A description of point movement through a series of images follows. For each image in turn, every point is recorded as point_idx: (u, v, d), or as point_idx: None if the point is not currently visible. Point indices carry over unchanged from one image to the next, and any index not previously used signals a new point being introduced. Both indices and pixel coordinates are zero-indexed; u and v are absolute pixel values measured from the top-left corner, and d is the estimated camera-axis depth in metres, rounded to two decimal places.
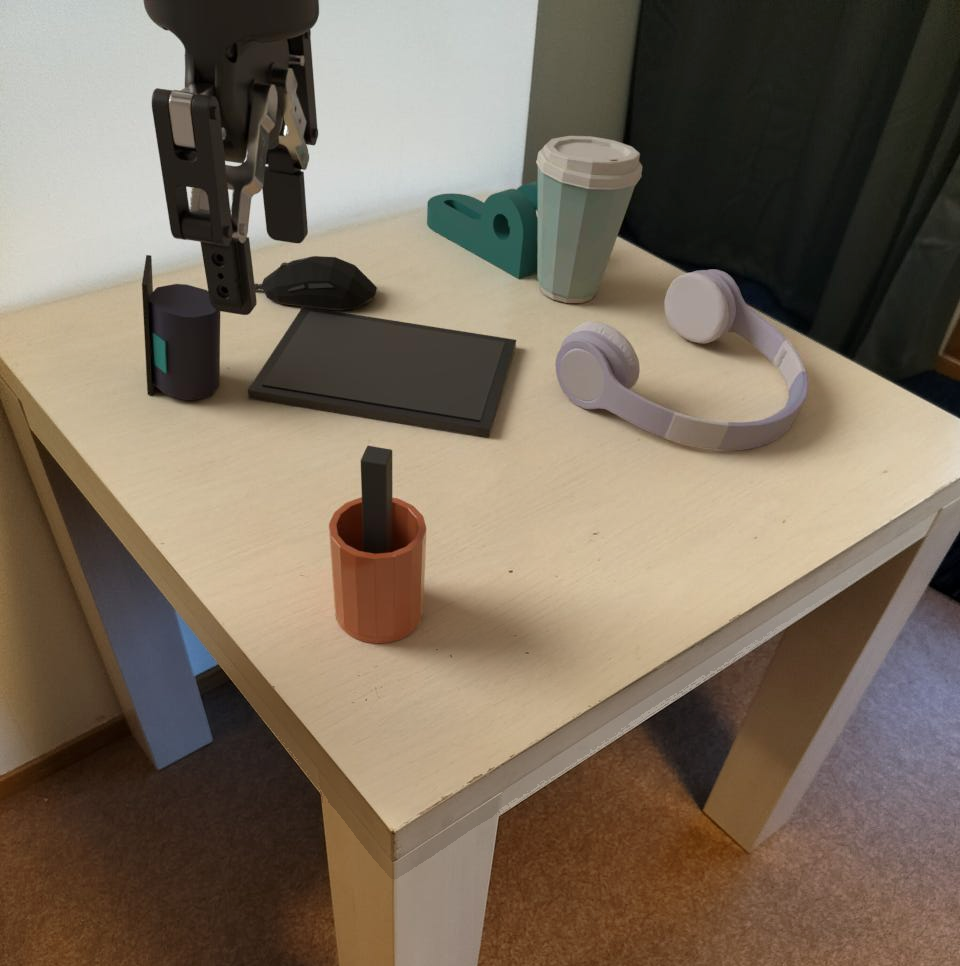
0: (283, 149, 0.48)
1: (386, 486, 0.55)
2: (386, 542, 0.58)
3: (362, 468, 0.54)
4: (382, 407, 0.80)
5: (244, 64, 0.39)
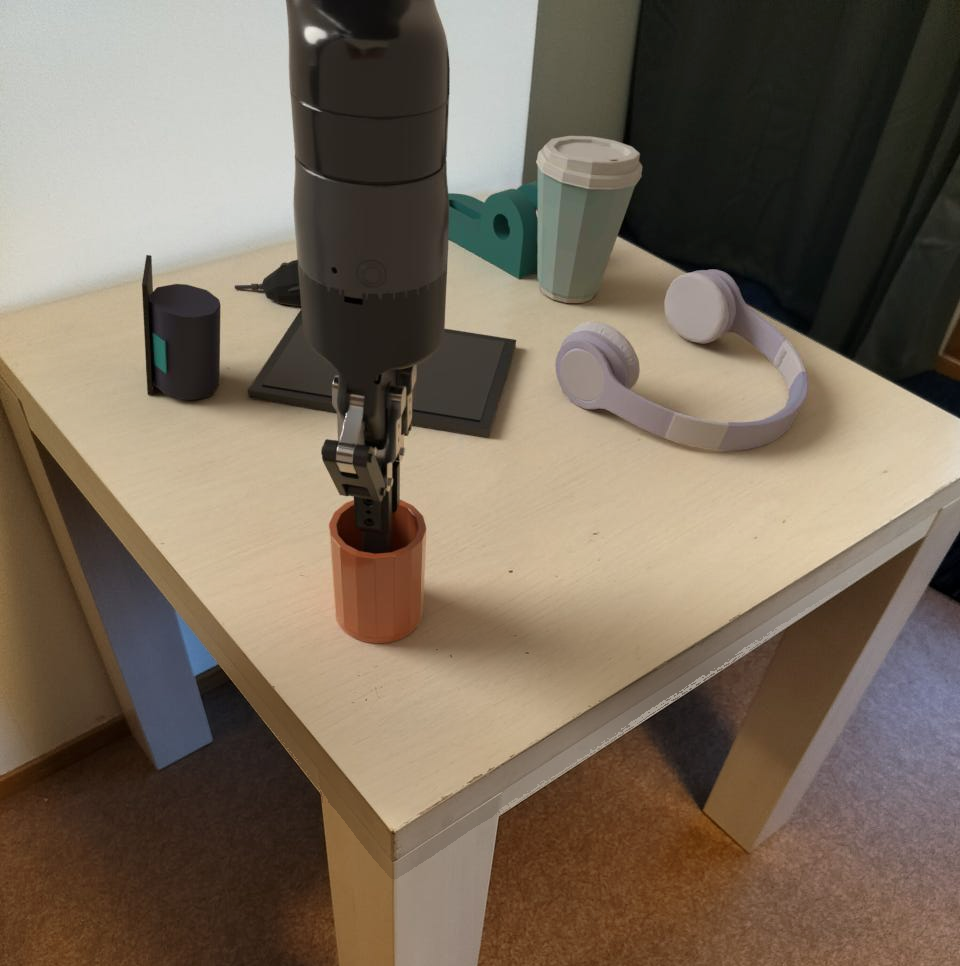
0: None
1: None
2: (386, 542, 0.58)
3: None
4: None
5: (384, 378, 0.47)
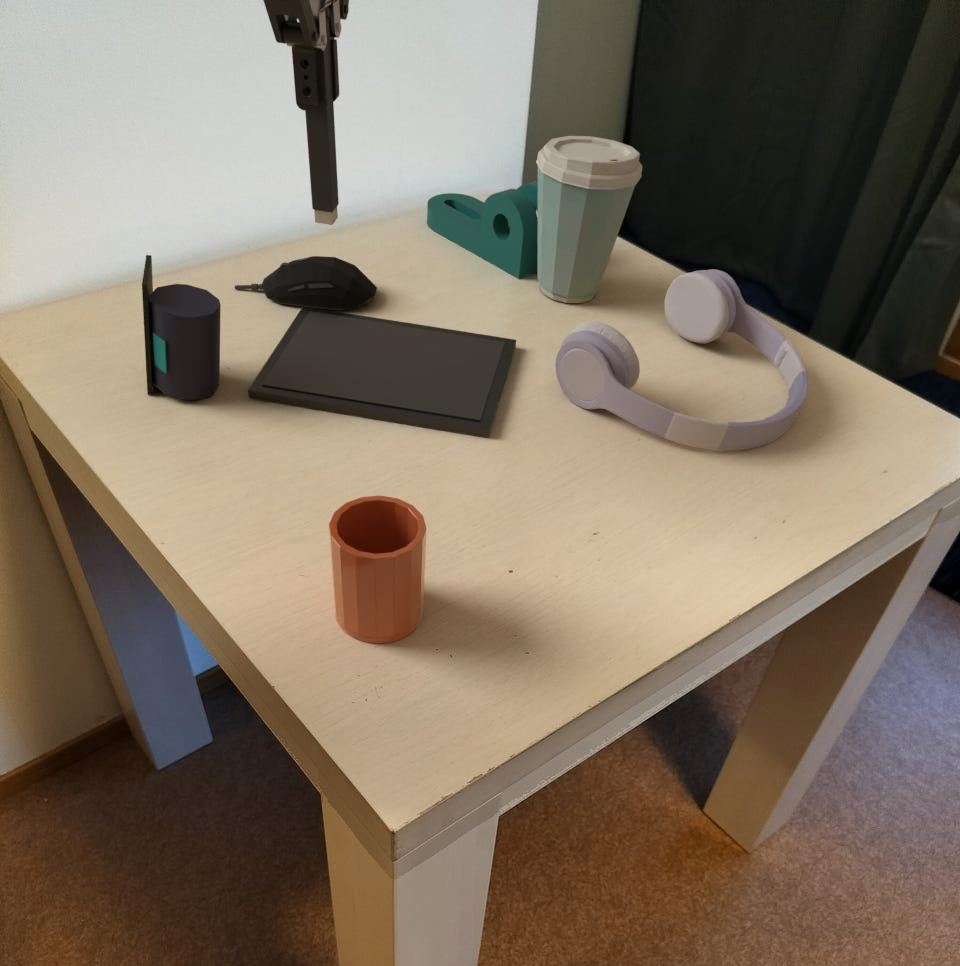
0: None
1: None
2: (327, 128, 0.63)
3: None
4: (382, 407, 0.80)
5: None
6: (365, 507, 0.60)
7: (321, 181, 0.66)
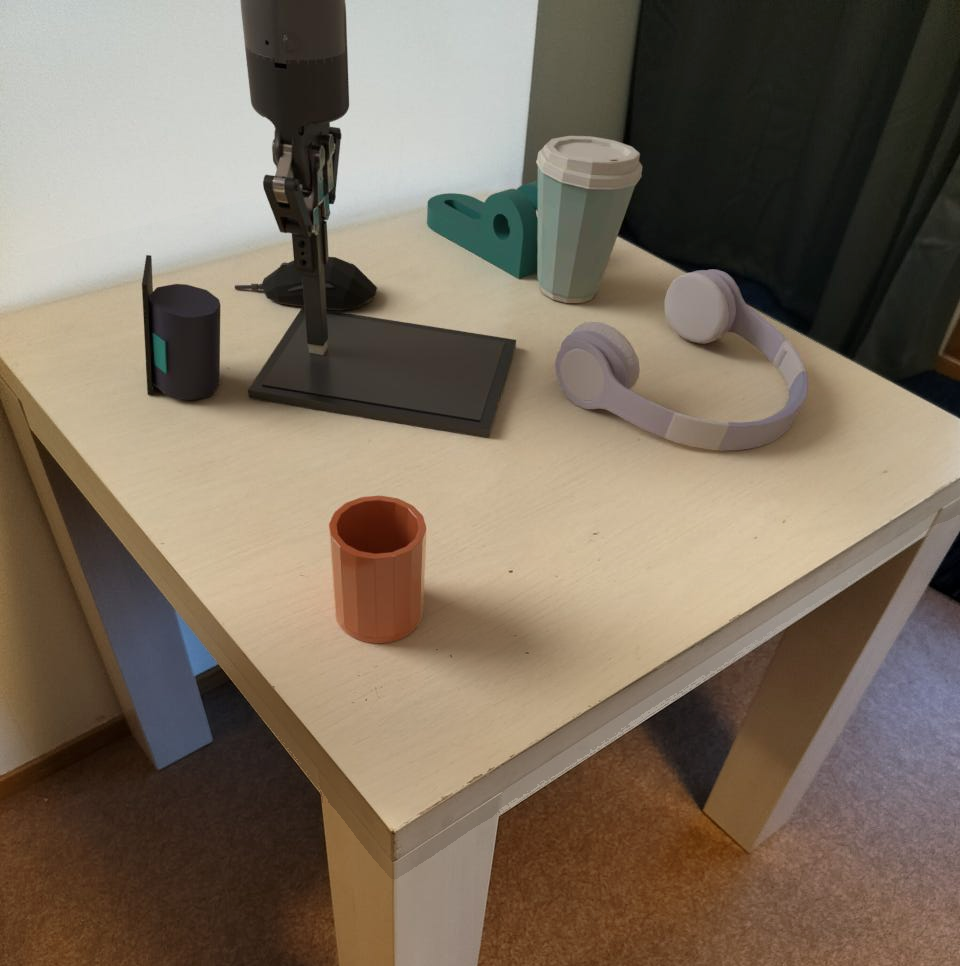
0: None
1: None
2: (319, 286, 0.79)
3: None
4: (382, 407, 0.80)
5: (307, 135, 0.69)
6: (365, 507, 0.60)
7: (314, 323, 0.82)
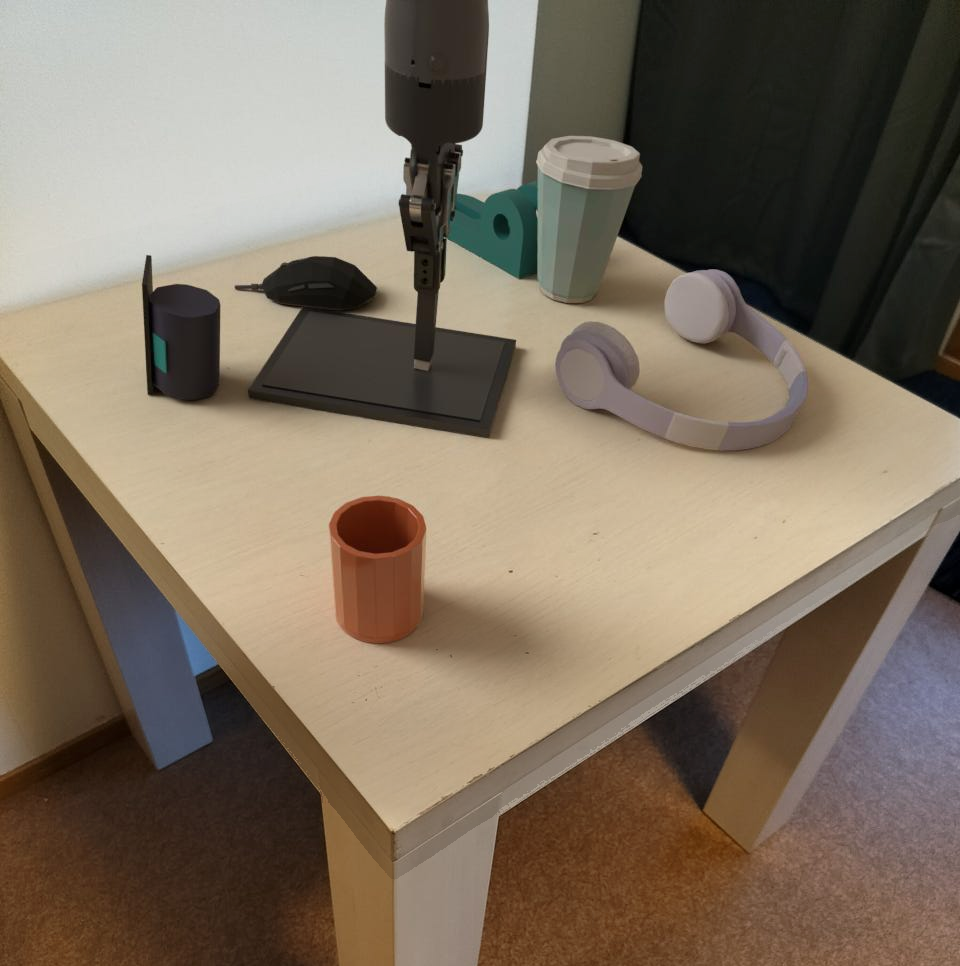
0: None
1: None
2: (434, 303, 0.79)
3: None
4: (382, 407, 0.80)
5: (441, 154, 0.68)
6: (365, 507, 0.60)
7: (424, 340, 0.81)
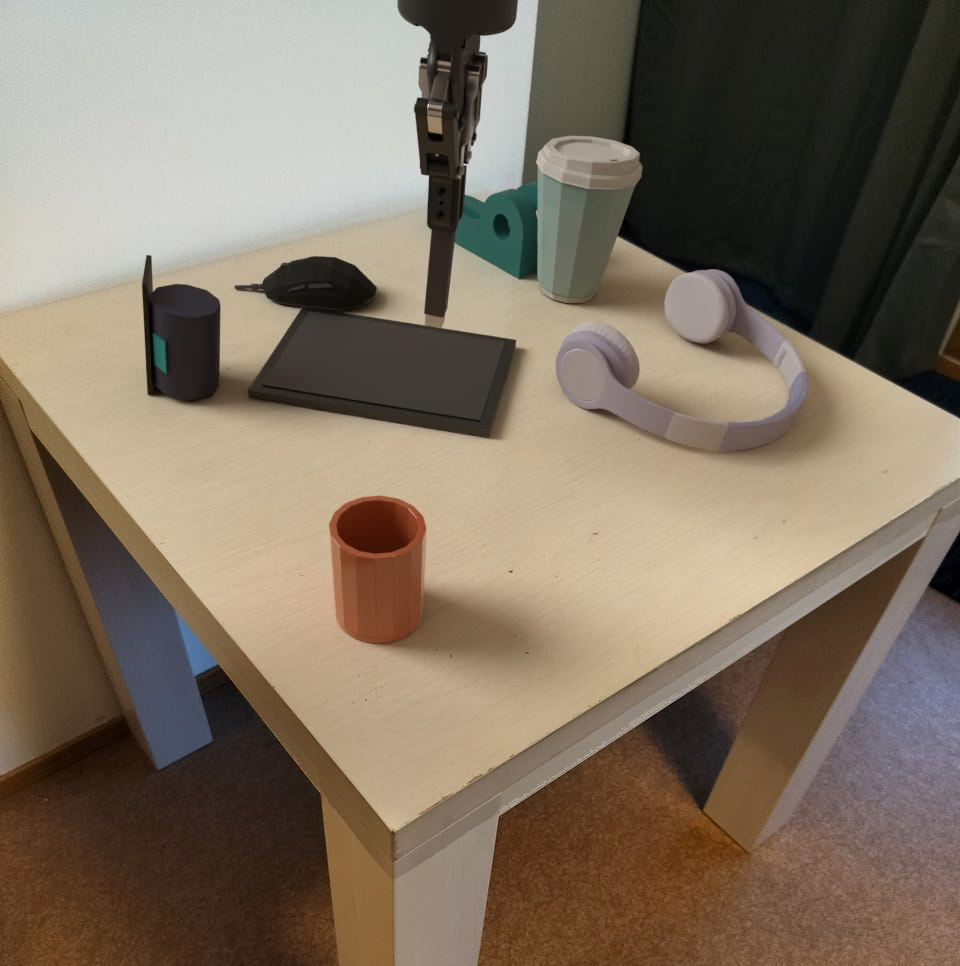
0: None
1: None
2: (451, 245, 0.66)
3: None
4: (382, 407, 0.80)
5: (466, 50, 0.56)
6: (365, 507, 0.60)
7: (437, 290, 0.69)
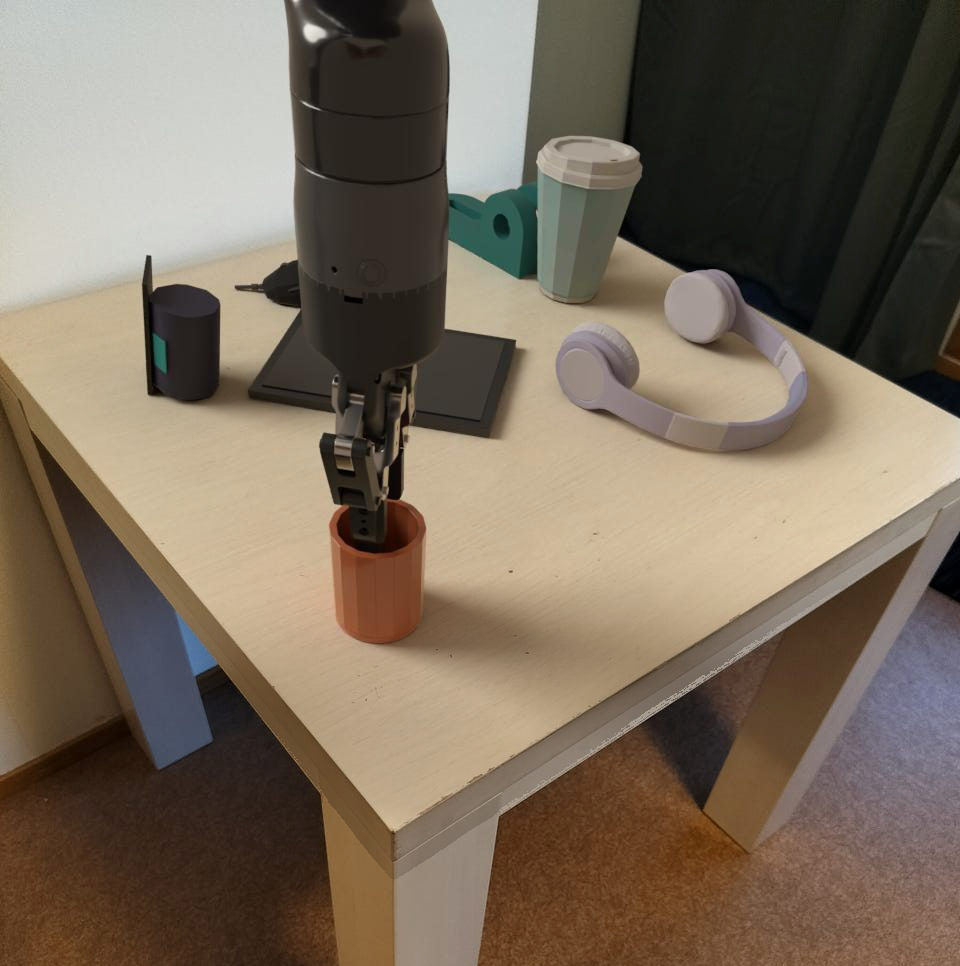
0: None
1: None
2: None
3: None
4: None
5: (384, 378, 0.47)
6: None
7: None
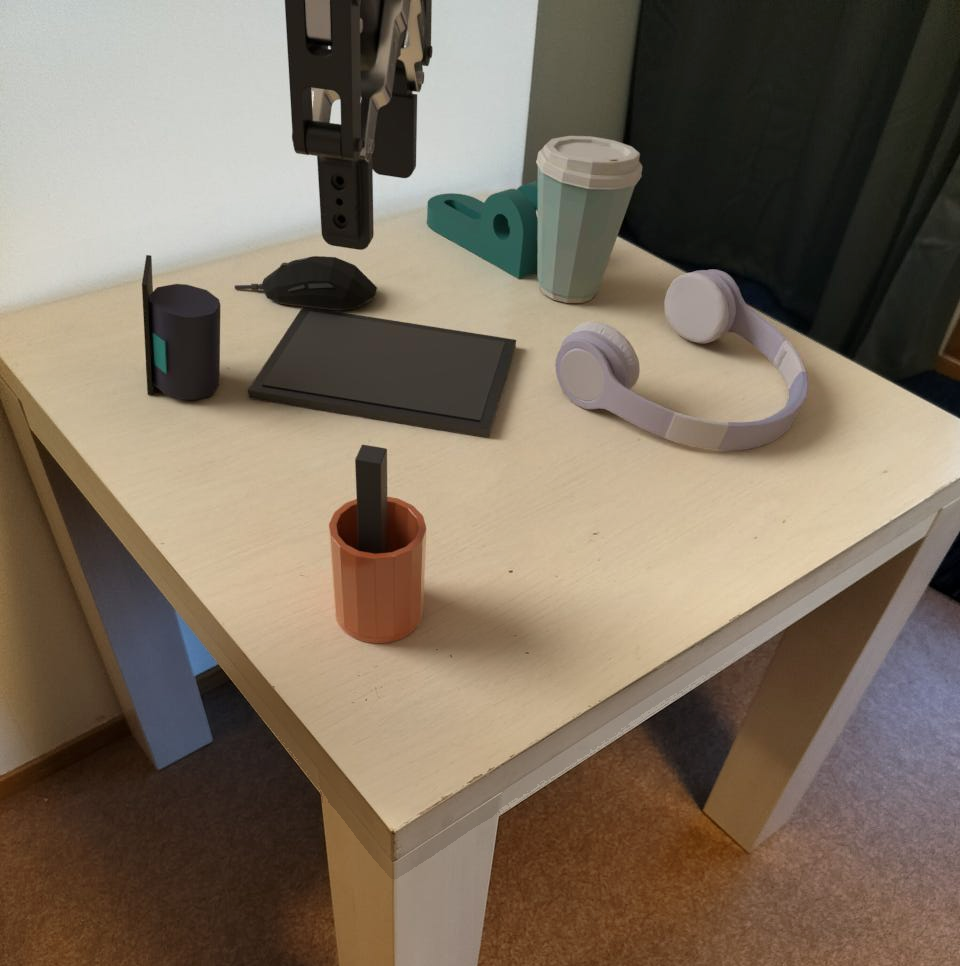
0: (397, 67, 0.43)
1: (381, 485, 0.55)
2: (381, 541, 0.58)
3: (357, 467, 0.54)
4: (382, 407, 0.80)
5: None
6: None
7: None
